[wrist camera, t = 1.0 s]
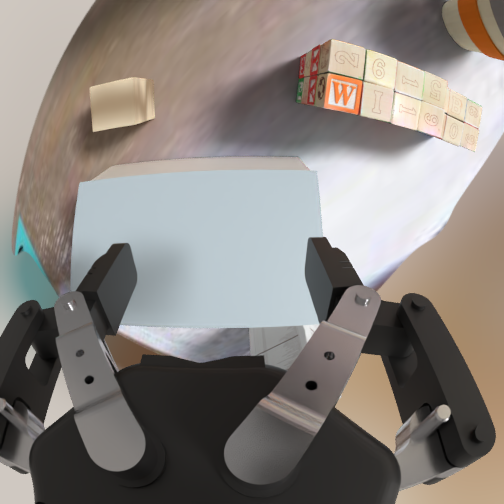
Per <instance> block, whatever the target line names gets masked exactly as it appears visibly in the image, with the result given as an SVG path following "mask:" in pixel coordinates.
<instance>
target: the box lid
mask: <svg viewBox="0 0 504 504" xmlns="http://www.w3.org/2000/svg"><path fill="white" fill-rule="evenodd" d="M309 237H323V232H322V219H321V207H320V196H319V186H318V177H317V171H307V170H212V171H190V172H173V173H159V174H147V175H137V176H127V177H118V178H109V179H101V180H94V181H86V182H80V184H79V190H78V196H77V203H76V211H75V219H74V229H73V240H72V255H71V292H72V291H76V289H77V288H78V286H79V285H80V283H81V282H82V280H83V279H84V277H85V275H87V272H88V271H89V269H91V267H92V265H93V264H94V262H95V261H96V260H97V259H98V258H99V257H101V256H102V255H103V254H106V252H107V251H108V249H109V248H110V246H111V245H112V244H114V243H128V244H129V245H130V247H131V251H132V255H133V259H134V263H135V266H136V270H137V284H136V287H135V289H134V291H133V294H132V296H131V298H130V301H129V303H128V306H127V308H126V311H125V313H124V316H123V318H122V321H121V323H120V325H129V326H147V327H172V328H256V327H281V326H300V325H315V324H319V321H318V318H317V314H316V311H315V308H314V305H313V302H312V299H311V296H310V292H309V289H308V286H307V283H306V280H305V260H306V252H307V242H308V238H309Z"/></svg>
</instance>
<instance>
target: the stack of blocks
mask: <svg viewBox="0 0 504 504" xmlns="http://www.w3.org/2000/svg"><path fill="white" fill-rule="evenodd" d="M447 84H448V82H447V81H446V80H444V79H442V78H440V77H438V76H435V75H433V74H431V73H429V72H427V71H422V70H420V69H418V68H415V67H413V66H410V65H408V64H405V63H403V62H400V61H397V59H395V58H392V57H390V56H387V55H384V54H381V53H378V52H375V51H372V50H368V49H365V48H363V47H360V46H357V45H353V44H350V43H346V42H342V41H338V40H334V39H331V40H329V41H327V42H325V43H324V44H322V45H318V46H316V47H315V48H313V49H312V50H311V51H310V52H308V53H306V54H304V55H302V56H301V60H300V69H299V82H298V91H297V99H296V102H297V103H301V104H306V105H311V106H317V107H321V108H325V109H331V110H336V111H342V112H347V113H351V114H355V115H359V116H364V117H368V118H372V119H376V120H380V121H383V122H387V123H390V124H394V125H397V126H402V127H405V128H408V129H411V130H415V131H417V132H420V133H423V134H426V135H430V136H433V137H436V138H439V139H441V140H443V141H446V142H448V143H451V144H454V145H456V146H462V147H464V148H466V149H469V150H471V151H473V152H475V149H476V144H477V139H478V134H479V126H480V120H481V113H482V107H481V106H480V105H478V104H476V103H475V102H473V101H471V100H469V99H467V98H466V97H464V96H463V95H461V94H459V93H457V92H455V91H453V90H451V89H449V88H447Z"/></svg>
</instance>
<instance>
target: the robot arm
mask: <svg viewBox="0 0 504 504" xmlns="http://www.w3.org/2000/svg"><path fill="white" fill-rule="evenodd" d="M305 280H306V283H307V286H308V289H309V292H310V296H311V299H312V302H313V305H314V308H315V311H316V314H317V318H318V321H319V324H320V325H319V326H318V328H317V329H316V331H315V332H314V334H313V335H312V337H311V338H310V340H309V341H308V343H307V344H306V345H305V347H304V348H303V350H302V351H301V353H300V354H299V355H298V357H297V358H296V360H295V361H294V362H293V364H292V365H291V367H290V368H289V369H288V371H286V370H284V369H282V368H279V367H276V366H272V365H267V364H265V359H264V355H260V356H233V357H228V358H224V359H219V360H215V361H210V362H205V363H197V362H193V361H189V360H184V359H180V358H177V357H173V356H161V355H142V359H141V363H139V364H135V365H131V366H128V367H126V368H124V369H122V370H120V371H119V370H118V368H117V366H116V364H115V362H114V359H113V358H112V355H111V353H110V351H109V349H108V346H107V344H106V342H105V340H104V338H105V335H116V333H117V331H118V328H119V326H120V323H121V321H122V318H123V316H124V313H125V311H126V308H127V306H128V303H129V301H130V298H131V296H132V294H133V291H134V289H135V287H136V284H137V270H136V266H135V263H134V259H133V255H132V251H131V247H130V245H129V244H128V243H114V244H112V245H111V246H110V248H109V249H108V251H107V252H106V254H103V255H102V256H101V257H99V258H98V259H97V260H96V261H95V262H94V264H93V265H92V267H91V269H89V271H88V272H87V275H85V277H84V279H83V280H82V282H81V283H80V285H79V286H78V288H77V289H76V291H72V292H68V293H66V294H64V295H62V296H61V297H60V298H59V299H58V300H57V301H56V303H55V305H54V307H52V308H48V309H41V307H40V305H39V303H38V302H37V301H35V300H30V301H27V302H25V303H23V304H22V305H20V306H19V308H17V310H16V311H15V313H14V315H13V316H12V318H11V319H10V321H9V323H8V324H7V326H6V328H5V330H4V331H3V333H2V335H1V337H0V462H1V463H3V464H4V465H6V466H9V467H10V468H12V469H14V470H16V471H17V472H19V473H22V474H27V473H31V477H32V481H33V487H34V495H35V504H395V501H396V498H397V495H398V492H399V491H401V490H404V489H407V488H410V487H413V486H415V485H418V484H421V483H423V484H427V485H431V484H435V483H437V482H439V481H441V480H443V479H445V478H447V477H449V476H451V475H453V474H454V473H456V472H458V471H460V470H462V469H463V468H465V467H467V466H468V465H470V464H471V463H473V462H475V461H476V460H478V459H480V458H481V457H483V456H484V455H486V454H487V453H488V452H489V451H490V450H491V449H492V447H493V445H494V443H495V438H496V435H495V434H496V433H495V428H494V425H493V422H492V420H491V417H490V415H489V412H488V410H487V407H486V405H485V403H484V400H483V398H482V396H481V394H480V391H479V389H478V387H477V385H476V383H475V381H474V379H473V376H472V374H471V372H470V370H469V368H468V366H467V364H466V362H465V360H464V358H463V356H462V355H461V353H460V351H459V349H458V347H457V346H456V344H455V342H454V340H453V338H452V336H451V334H450V333H449V331H448V329H447V328H446V326H445V324H444V322H443V321H442V319H441V317H440V316H439V314H438V313H437V311H436V309H435V308H434V306H433V305H432V303H431V302H430V301H429V300H428V299H427V298H425V297H424V296H422V295H419V294H415V293H409V294H406V295H405V296H403V298H402V300H401V302H400V303H394V302H386V301H382V300H381V298H380V296H379V294H378V293H377V292H376V291H375V290H373V289H372V288H369V287H367V286H364V285H363V284H362V282H361V280H360V278H359V276H358V275H357V273H356V271H355V269H354V268H353V266H352V264H351V263H350V262H349V259H348V258H347V256H346V254H345V253H344V252H342V251H341V250H340V249H338V248H332V247H331V245H330V243H329V242H328V240H327V238H326V237H309V238H308V242H307V252H306V260H305ZM31 345H32V346H33V348H34V349H35V351H36V354H35V357H34V359H33V361H32V364H31V366H30V368H29V370H28V368H27V367H26V363H25V357H26V354H27V352H28V350H29V348H30V346H31ZM361 353H366V354H374V355H381V358H382V361H383V363H384V366H385V369H386V372H387V375H388V378H389V381H390V384H391V387H392V390H393V393H394V396H395V400H396V403H397V406H398V410H399V413H400V416H401V420H402V423H403V425H402V426H401V427H400V428H399V430H398V431H397V434H396V439H395V440H396V450H395V453H394V454H393V453H392V451H391V450H390V449H389V448H388V447H387V446H385V445H384V444H383V443H381V442H380V441H378V440H377V439H376V438H374V437H373V436H371V435H370V434H369V433H367V432H366V431H365V430H363V429H362V428H361V427H359V426H358V425H357V424H356V423H354V422H353V421H351V420H350V419H349V418H348V417H346V416H345V415H344V414H342V413H341V412H340V411H339V410H337V409H336V408H335V405H336V403H337V401H338V400H339V398H340V396H341V394H342V392H343V390H344V388H345V386H346V384H347V382H348V380H349V378H350V376H351V374H352V372H353V370H354V368H355V366H356V364H357V361H358V359H359V357H360V354H361ZM61 367H62V370H63V373H64V376H65V380H66V384H67V387H68V390H69V394H70V397H71V400H72V403H73V406H74V407H73V408H72V409H70V410H69V411H68V412H67V413H65V414H64V415H63V416H62V417H61V418H59V419H58V420H57V421H56V422H54V423H53V424H52V425H51V426H49V427H48V428H47V429H46V430H45V428H44V420H45V416H46V413H47V410H48V406H49V403H50V399H51V396H52V393H53V390H54V387H55V384H56V381H57V378H58V375H59V373H60V370H61Z"/></svg>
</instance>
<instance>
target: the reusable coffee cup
mask: <svg viewBox="0 0 504 504" xmlns="http://www.w3.org/2000/svg"><path fill="white" fill-rule="evenodd" d="M442 17H443V21H444V24H445V27H446V29H447V31H448V32H449V34H450V36H451V37H452V38H453V40H454V41H455V42H456V43H457V44H458V45H459V46H461V47H462V48H464V49H466V50H469V51H475V52H480V53H484V54H485V55H487V56H489V57H492V58H496V59H500V60H503V61H504V0H449V1H447V2H446V3H444V5H443V8H442Z"/></svg>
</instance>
